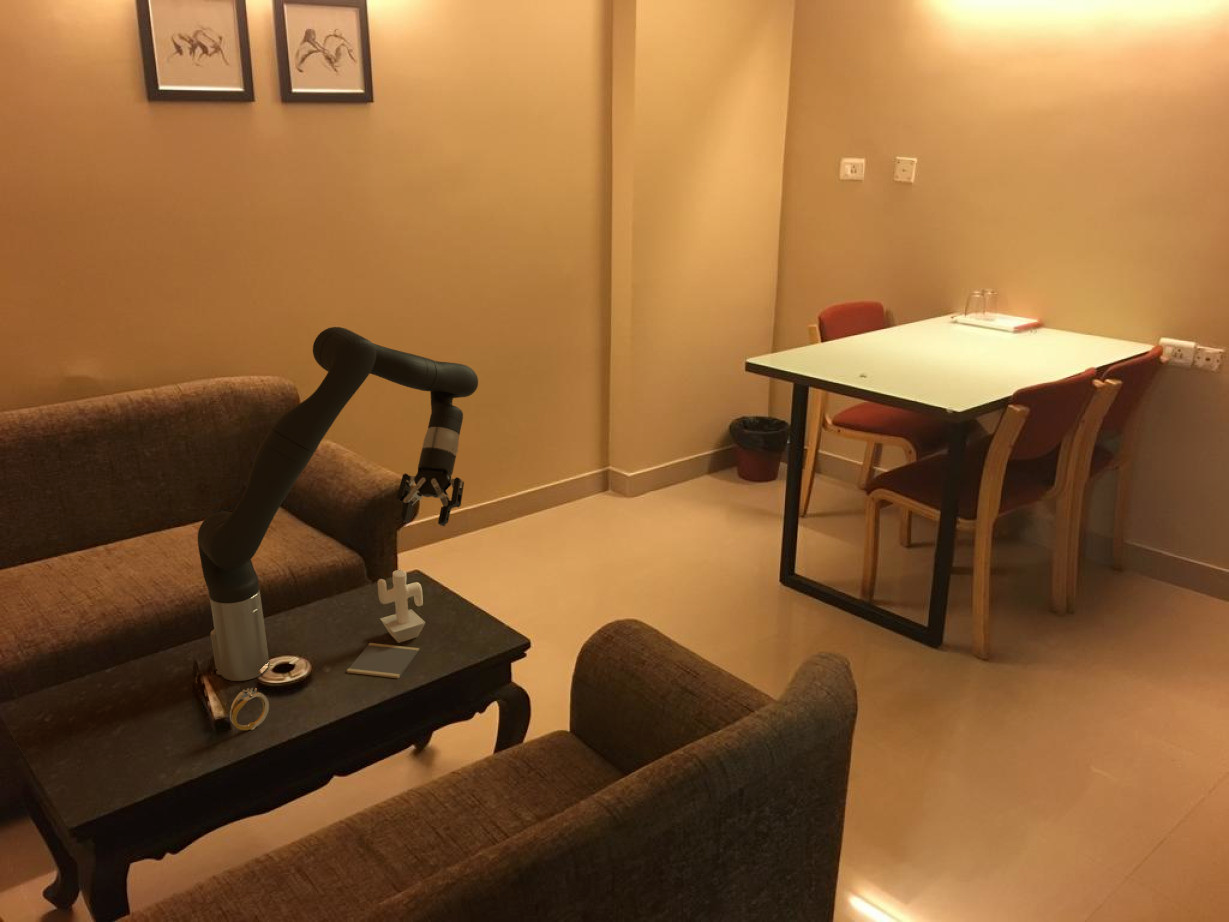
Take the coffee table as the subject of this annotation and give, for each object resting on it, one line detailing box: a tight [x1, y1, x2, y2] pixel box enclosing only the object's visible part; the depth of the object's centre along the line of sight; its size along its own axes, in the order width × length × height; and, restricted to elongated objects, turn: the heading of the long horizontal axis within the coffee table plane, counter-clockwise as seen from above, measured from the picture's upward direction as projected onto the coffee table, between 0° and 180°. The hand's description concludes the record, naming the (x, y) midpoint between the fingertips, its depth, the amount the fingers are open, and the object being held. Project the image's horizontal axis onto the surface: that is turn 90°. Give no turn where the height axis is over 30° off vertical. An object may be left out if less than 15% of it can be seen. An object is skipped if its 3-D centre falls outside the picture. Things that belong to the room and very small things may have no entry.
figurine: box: [377, 569, 426, 644], centre depth 207 cm, size 7×9×15 cm
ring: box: [229, 687, 270, 731], centre depth 177 cm, size 7×3×8 cm, turn 132°
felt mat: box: [346, 642, 420, 679], centre depth 200 cm, size 11×11×1 cm
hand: (423, 523), depth 208 cm, fingers open, 8 cm apart
